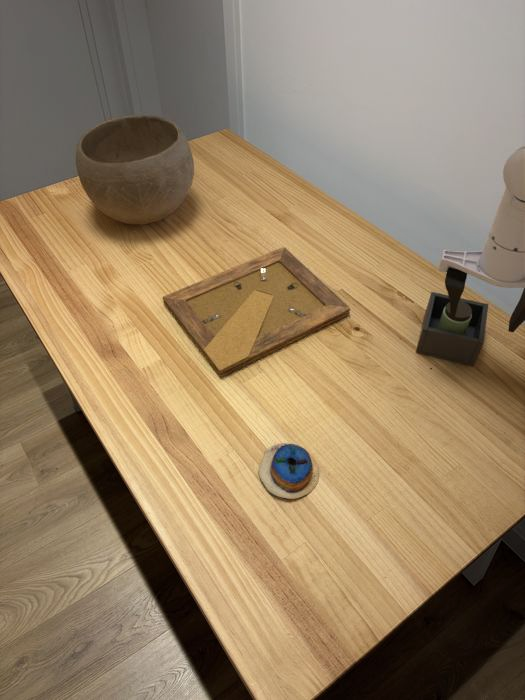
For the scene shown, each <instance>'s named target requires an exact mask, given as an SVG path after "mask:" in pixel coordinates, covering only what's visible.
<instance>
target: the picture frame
mask: <svg viewBox="0 0 525 700" xmlns="http://www.w3.org/2000/svg"><path fill="white" fill-rule="evenodd" d="M162 300H163V301H162V302H163V305H164V306H165V307H166V308H167V310H168V311H169V312H170V314H171V315H172V316H173V318H174V319H175V320H176V321H177V322H178V324H179V325H180V327H181V328H182V329H183V331H184V332H185V333H186V335H187V336H188V337H189V339H190V340H191V341H192V342H193V343H194V345H195V346H196V348H197V349H198V350H199V351H200V353H201V354H202V356H203V357H204V358H205V359H206V360H207V362H208V363H209V365H210V366H211V367H212V368H213V370H214V372H216V374H217V375H218V376H219V377H220V378H223V377H225V376H227V375H228V374H231V373H233V372H235V371H237V370H239V369H241V368H243V367H245V366H247V365H249V364H251V363H253V362H255V361H257V360H259V359H261V358H263V357H265V356H267V355H270V354H271V353H273V352H276V351H278V350H280V349H282V348H284V347H286V346H287V345H290V344H292V343H294V342H296V341H298V340H300V339H302V338H304V337H306V336H308V335H310V334H312V333H314V332H316V331H318V330H320V329H323V328H324V327H326V326H329V325H330V324H332V323H335V322H337V321H338V320H341V319H344V318H345V317H347V316H348V315H349V316H350V315H351V314H350V313H351V307H350V306H349V305H348V304H347V303H345V302H344V300H343V299H341V298H340V296H339V295H337V294H336V293H335V292H334V291H333V290H332V289H331V288H330V287H328V286H327V284H325V283H324V282H323V281H322V280H321V279H320V278H319V277H317V276H316V274H315V273H313V272H312V271H311V270H310V269H309V268H308V267H307V266H306V265H304V264H303V262H301V260H299V259H298V258H297V257H296V256H295V255H294V254H293V253H291V252H290V251H289V250H288V249H287V248H286V247H285V246H282V247H279V248H278V249H274V250H272V251H269V252H267V253H265V254H263V255H261V256H257V257H255V258H253V259H251V260H248V261H246V262H244V263H240V264H239V265H235V266H234V267H232V268H229V269H226V270H223V271H221V272H219V273H217V274H214V275H212V276H209V277H207V278H205V279H202V280H200V281H197V282H196V283H193V284H190V285H188V286H185V287H183V288H180V289H178V290H175V291H173V292H170V293H168V294H165V295H163V296H162Z"/></svg>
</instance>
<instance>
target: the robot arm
mask: <svg viewBox="0 0 525 700" xmlns="http://www.w3.org/2000/svg"><path fill="white" fill-rule="evenodd" d="M502 176H503V182H504V185H505V189H504V191H503V192H504V193H503V194H502V197H501V199H500V202H499V205H498V207H497V211H496V213H495V216H494V219H493V221H492V224H491V227H490V230H489V233H488V235H487V238H486V241H485V244H484V246H483V249H482V250H478V251H477V250H475V251H473V250H472V251H471V250H469V251H468V250H467V251H465V250H464V251H463V250H460V251H456V250H447V249H443V251H442V254H441V258H440V261H439V265H438V271H439V272H442V273H446V274H445V277H444V278H445V279H444V286H445V289H446V291H447V295H449V300H450V314H449V318H453V319H454V318H455V315H456V311H457V306H458V303H459V300H460V298H462V295H463V293H464V291H465V287H466V281H467V277H468V275H469V276H472V277H474V278H477V279H479V280H481V281H483V282H486V283H487V284H489V285H492V286H495V287H498V288H505V289H523V290H522V293H521V296H520V298H519V300H518V302H517V304H516V306H515V307H514V310H513V312H512V313H511V315H510V318H509V321H508V332H510V333H515V331H516V330H517V329H519V327H520V326H521V325H522V324H523V323H524V322H525V144H524V145H522V146H520V147H519V148H518V149H516V150H515V151H514V152H513V153H512V154H510V156H508V158H507V160H506V162H505V163H504V166H503V172H502Z"/></svg>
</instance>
